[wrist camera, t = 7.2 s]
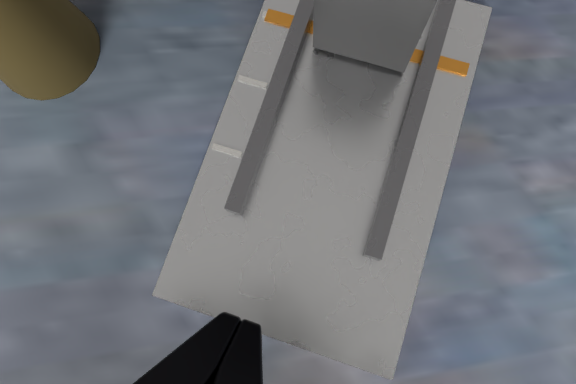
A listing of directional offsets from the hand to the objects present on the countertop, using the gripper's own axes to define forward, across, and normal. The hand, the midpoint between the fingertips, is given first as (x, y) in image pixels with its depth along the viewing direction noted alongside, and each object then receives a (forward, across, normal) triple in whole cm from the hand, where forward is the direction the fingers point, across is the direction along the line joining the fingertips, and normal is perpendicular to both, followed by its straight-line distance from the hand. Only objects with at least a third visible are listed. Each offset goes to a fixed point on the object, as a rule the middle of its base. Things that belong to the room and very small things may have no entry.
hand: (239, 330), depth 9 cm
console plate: (+16, 0, +3) cm, 16 cm away
